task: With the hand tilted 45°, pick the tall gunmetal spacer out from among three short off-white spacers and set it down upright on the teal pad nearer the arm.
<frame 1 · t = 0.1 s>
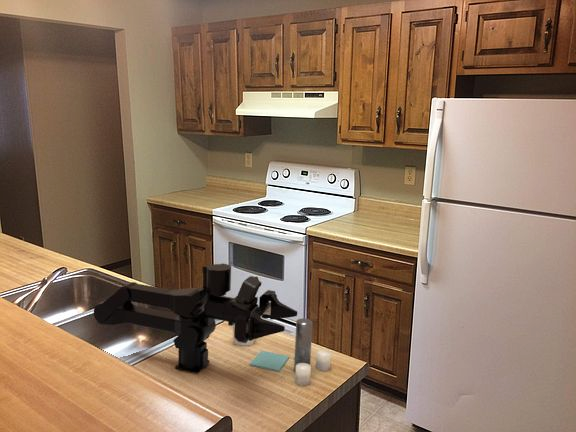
hand: (291, 321, 112), 17 cm above the counter, tool horizontal, fingers open, 9 cm apart
white cylinder: (243, 341, 138), on the counter
gunmetal spacer: (301, 370, 123), on the counter
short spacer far: (322, 367, 125), on the counter
short spacer right: (302, 381, 118), on the counter
teal pad: (269, 361, 127), on the counter
short spacer left: (301, 359, 128), on the counter
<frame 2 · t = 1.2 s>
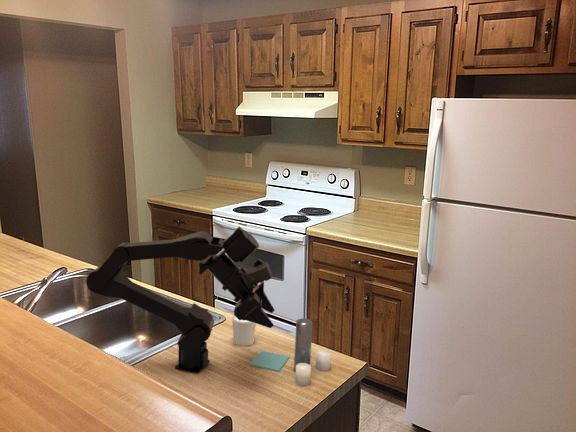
hand: (272, 318, 120), 13 cm above the counter, tool tilted 45°, fingers open, 9 cm apart
nothing on the counter moved.
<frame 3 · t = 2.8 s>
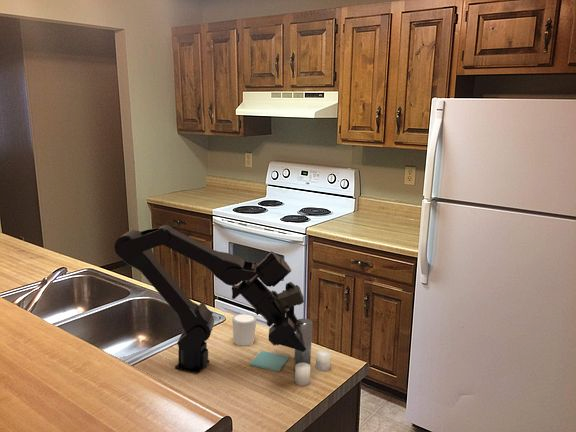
hand: (304, 341, 121), 8 cm above the counter, tool tilted 45°, fingers open, 9 cm apart
nothing on the counter moved.
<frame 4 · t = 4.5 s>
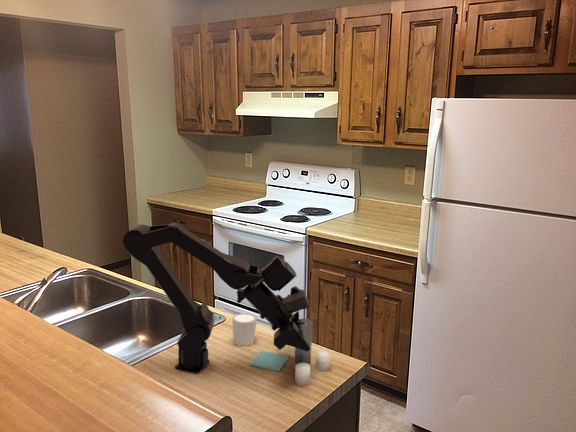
hand: (308, 346, 122), 7 cm above the counter, tool tilted 45°, fingers closed on gunmetal spacer, 4 cm apart
gunmetal spacer: (301, 370, 123), on the counter, touching gripper
everything else where it was.
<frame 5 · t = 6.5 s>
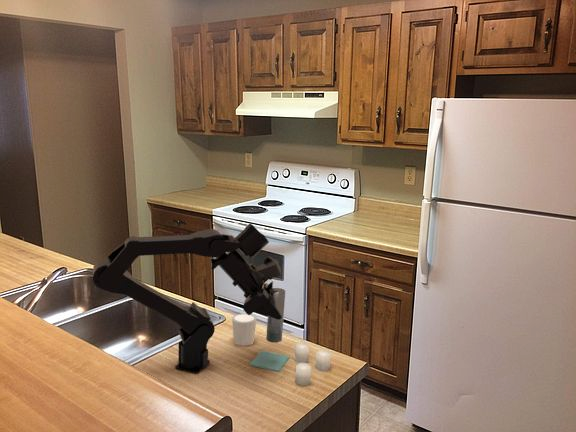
hand: (280, 315, 123), 13 cm above the counter, tool tilted 45°, fingers closed on gunmetal spacer, 4 cm apart
gunmetal spacer: (274, 339, 124), point 7 cm above the counter, touching gripper
everything else where it was.
when the fingers open (8 cm above the counter, at t = 8.6 s): gunmetal spacer stays where it is, resting on teal pad.
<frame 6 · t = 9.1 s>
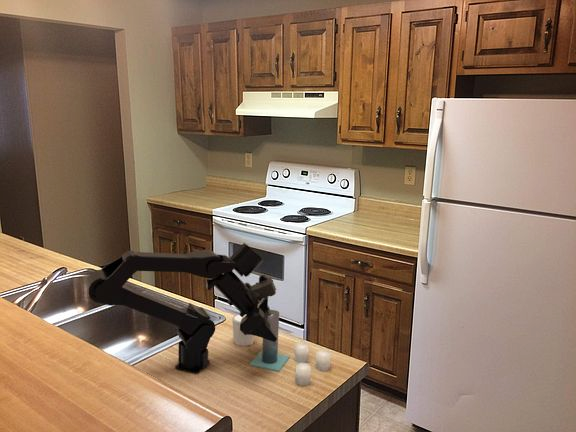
hand: (276, 332, 125), 8 cm above the counter, tool tilted 45°, fingers open, 9 cm apart
gunmetal spacer: (269, 360, 126), resting on teal pad
everything else where it was.
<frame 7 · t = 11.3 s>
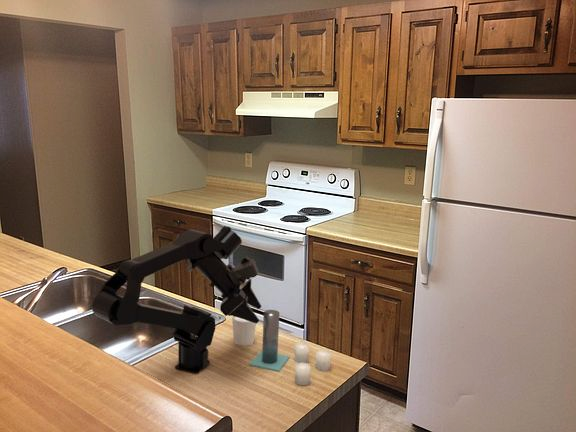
hand: (259, 314, 124), 13 cm above the counter, tool tilted 45°, fingers open, 9 cm apart
nothing on the counter moved.
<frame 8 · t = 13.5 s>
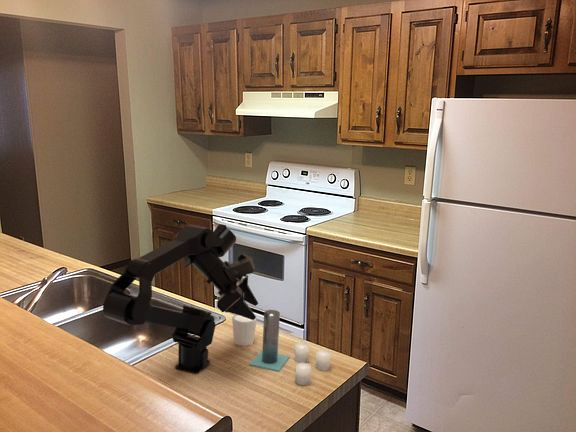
hand: (255, 311, 124), 14 cm above the counter, tool tilted 45°, fingers open, 9 cm apart
nothing on the counter moved.
at the end: gunmetal spacer 0.1 cm off-centre on the teal pad, point 0.4 cm above the teal pad's base; gunmetal spacer tilted 1°; the gripper is holding nothing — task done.
